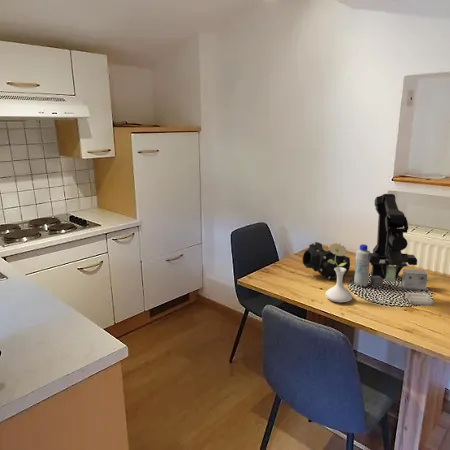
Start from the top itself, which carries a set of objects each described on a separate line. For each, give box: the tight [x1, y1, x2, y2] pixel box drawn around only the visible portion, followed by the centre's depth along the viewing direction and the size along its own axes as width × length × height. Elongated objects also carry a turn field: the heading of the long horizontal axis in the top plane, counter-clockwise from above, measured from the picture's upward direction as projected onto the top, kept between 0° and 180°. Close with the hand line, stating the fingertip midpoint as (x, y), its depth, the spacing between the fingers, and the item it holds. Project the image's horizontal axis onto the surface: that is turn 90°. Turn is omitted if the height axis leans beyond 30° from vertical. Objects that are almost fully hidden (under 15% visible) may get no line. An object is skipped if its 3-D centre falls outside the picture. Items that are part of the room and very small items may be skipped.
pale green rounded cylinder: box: [384, 265, 396, 283], centre depth 167 cm, size 4×4×6 cm
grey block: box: [369, 275, 384, 288], centre depth 181 cm, size 4×4×4 cm
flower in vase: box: [324, 241, 353, 303], centre depth 166 cm, size 13×11×25 cm
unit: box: [401, 268, 428, 292], centre depth 177 cm, size 10×6×8 cm, turn 79°
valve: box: [302, 241, 351, 280], centre depth 200 cm, size 22×15×30 cm
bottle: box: [353, 243, 371, 288], centre depth 180 cm, size 7×7×20 cm
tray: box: [405, 292, 435, 307], centre depth 166 cm, size 9×8×2 cm
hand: (390, 277), depth 168 cm, fingers closed on pale green rounded cylinder, 4 cm apart
